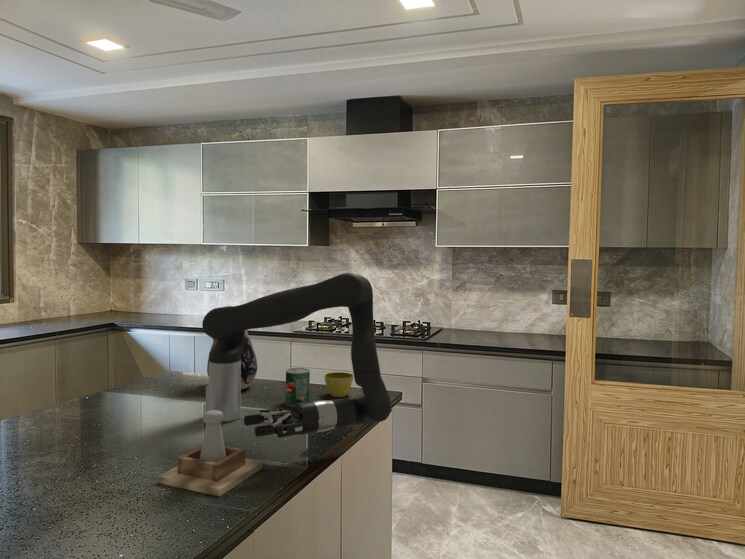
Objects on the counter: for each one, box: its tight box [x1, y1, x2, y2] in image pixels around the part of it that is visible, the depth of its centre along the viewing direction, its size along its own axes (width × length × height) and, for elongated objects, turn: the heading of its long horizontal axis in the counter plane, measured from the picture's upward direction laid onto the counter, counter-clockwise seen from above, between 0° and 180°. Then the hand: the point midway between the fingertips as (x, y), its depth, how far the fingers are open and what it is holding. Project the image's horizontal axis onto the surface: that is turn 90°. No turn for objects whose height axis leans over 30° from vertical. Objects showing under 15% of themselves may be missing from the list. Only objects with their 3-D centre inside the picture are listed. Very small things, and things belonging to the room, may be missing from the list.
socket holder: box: [157, 445, 264, 497], centre depth 124 cm, size 16×16×5 cm
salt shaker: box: [200, 410, 226, 463], centre depth 124 cm, size 6×6×13 cm
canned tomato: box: [284, 367, 311, 407], centre depth 183 cm, size 8×8×11 cm
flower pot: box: [323, 371, 354, 398], centre depth 194 cm, size 10×10×7 cm
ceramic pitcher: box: [206, 330, 258, 391], centre depth 200 cm, size 18×21×25 cm
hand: (249, 426), depth 128 cm, fingers open, 8 cm apart
